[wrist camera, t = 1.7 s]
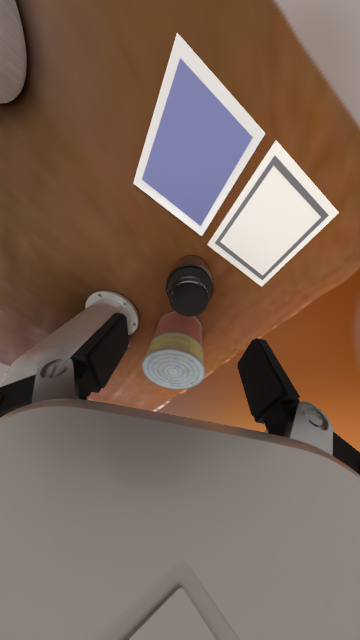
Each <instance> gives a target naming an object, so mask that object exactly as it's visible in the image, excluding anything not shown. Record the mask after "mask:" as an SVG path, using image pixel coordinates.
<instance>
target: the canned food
mask: <svg viewBox="0 0 360 640" xmlns="http://www.w3.org/2000/svg"><path fill="white" fill-rule="evenodd" d="M142 369H143V372H144V374H145V375H146V377H147V378H148V379H149V380H151V381H152V382H154V383H155V384H157V385H160V386H162V387H165V388H170V389H187V388H191V387H193V386H196V385H197V384H199V383H200V382H201V381H202V380H203V378H204V376H205V368H204V357H203V340H202V326H201V323H200V322H199V320H198V319H197V318H196V317H195V316H190V317H188V316H182V315H180V314H178V313H177V312H175V311H174V312H170V313H167V314H166V315H164V316H163V317H162V318H161V319H160V321H159V323H158V326H157V329H156V331H155V334H154V336H153V339H152V342H151V344H150V347H149V349H148V352H147V354H146V357H145V358H144V360H143V363H142Z"/></svg>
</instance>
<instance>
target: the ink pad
mask: <svg viewBox="0 0 360 640" xmlns="http://www.w3.org/2000/svg"><path fill="white" fill-rule="evenodd" d="M264 135H265V132H264V131H263V130H262V129H261V128H260V127H259V125H258V124H257V123H256V122H255V121H254V120H253V119H252V117H251V116H250V115H249V114H248V113H247V112H246V111H245V109H244V108H243V107H242V106H241V105H240V104H239V103H238V101H237V100H236V99H235V98H234V97H233V96H232V95H231V93H230V92H229V91H228V90H227V89H226V88H225V87H224V85H223V84H222V83H221V82H220V81H219V80H218V79H217V77H216V76H215V75H214V74H213V73H212V72H211V71H210V69H209V68H208V67H207V66H206V65H205V64H204V63H203V61H202V60H201V59H200V58H199V57H198V56H197V55H196V53H195V52H194V51H193V50H192V49H191V48H190V47H189V46H188V44H187V43H186V42H185V41H184V40H183V39H182V38H181V36H180V35H179V34H178V33H177V35H176V38H175V42H174V45H173V49H172V52H171V55H170V59H169V62H168V66H167V69H166V73H165V76H164V79H163V83H162V86H161V90H160V93H159V97H158V100H157V103H156V107H155V110H154V114H153V117H152V121H151V124H150V127H149V131H148V134H147V138H146V141H145V145H144V148H143V151H142V155H141V158H140V162H139V165H138V169H137V172H136V175H135V179H134V182H133V184H135V185H136V186H137V187H139V188H140V189H141V190H142V191H144V192H145V193H146V194H148V195H149V196H150V197H151V198H153V199H154V200H155V201H157V202H158V203H159V204H160V205H162V206H163V207H164V208H166V209H167V210H168V211H170V212H171V213H172V214H173V215H175V216H176V217H177V218H179V219H180V220H181V221H182V222H184V223H185V224H186V225H188V226H189V227H190V228H191V229H193V230H194V231H195V232H197V233H198V234H199V235H200V236H203V234H204V232H205V231H206V229H207V227H208V226H209V224H210V223H211V221H212V219H213V218H214V216H215V214H216V213H217V211H218V210H219V208H220V206H221V205H222V203H223V201H224V200H225V198H226V197H227V195H228V193H229V192H230V190H231V188H232V187H233V185H234V184H235V182H236V180H237V179H238V177H239V175H240V174H241V172H242V171H243V169H244V167H245V166H246V164H247V162H248V161H249V159H250V158H251V156H252V154H253V153H254V151H255V149H256V148H257V146H258V145H259V143H260V141H261V140H262V138H263V136H264Z"/></svg>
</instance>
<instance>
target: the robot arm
mask: <svg viewBox="0 0 360 640" xmlns="http://www.w3.org/2000/svg"><path fill="white" fill-rule="evenodd" d="M138 324H139V315H138V312H137V310H136V308H135V307H134V305H133V304H132V303H131V302H130V301H129V300H128V299H127V298H126V297H124V296H122V295H121V294H119V293H116V292H113V291H108V290H102V291H98V292H95V293H93V294H92V295H90V296H89V297H88V299H87V301H86V304H85V310H83V311H82V312H80V313H79V314H78V315H76V316H75V317H73V318H72V319H71V320H69V321H68V322H67V323H65V324H64V325H62V326H61V327H60V328H58V329H57V330H56V331H54V332H53V333H51V334H50V335H49V336H47V337H46V338H44V339H43V340H42V341H40V342H39V343H38V344H36V345H35V346H33V347H32V348H30V349H29V350H28V351H26V352H25V353H24V354H22V355H21V356H20V357H19V358H17V359H16V360H15V362H14V363H13V364H12V365H11V366H10V368H9V369H8V371H7V373H6V375H5V377H4V381H3V383H2V386H1V387H0V640H360V452H358V451H357V450H356V449H355V448H353V447H352V446H351V445H349V444H348V443H347V442H346V441H344V440H343V439H342V438H341V437H339V436H338V435H337V434H336V433H334V432H333V428H332V424H331V422H330V420H329V419H328V418H327V416H326V415H325V414H324V413H323V412H322V411H321V410H320V409H318V408H317V407H316V406H315V405H313V404H311V403H308V402H306V401H301V402H300V401H299V399H298V398H299V397H300V396H299V395H298V393H297V391H296V390H295V388H294V386H293V385H292V383H291V381H290V380H289V378H288V376H287V375H286V373H285V372H284V370H283V368H282V366H281V365H280V363H279V361H278V360H277V358H276V357H275V355H274V353H273V352H272V350H271V348H270V347H269V345H268V344H267V342H266V341H265V340H263V339H257V338H256V339H255V340H252V341H251V343H250V345H249V346H248V348H247V350H246V351H245V353H244V354H243V356H242V358H241V359H240V361H239V362H238V370H239V373H240V377H241V380H242V384H243V387H244V390H245V394H246V397H247V401H248V404H249V407H250V411H251V414H252V416H254V418H255V421H256V422H257V423H263V424H264V423H265V426H266V430H265V433H264V432H259V431H254V430H248V429H244V428H239V427H233V426H228V425H223V424H218V423H213V422H207V421H201V420H196V419H191V418H186V417H180V416H175V415H170V414H164V413H159V412H153V411H148V410H142V409H137V408H131V407H126V406H120V405H115V404H108V403H102V402H96V401H90V400H89V399H88V396H89V395H90V394H91V392H96V393H99V391H100V390H101V388H104V387H105V386H106V384H107V382H108V380H109V379H110V377H111V375H112V374H113V372H114V370H115V368H116V367H117V365H118V363H119V362H120V360H121V358H122V356H123V355H124V353H125V351H126V350H127V348H128V347H129V346H130V344H129V337H128V335H130V334H132V333H133V332H134V331H135V330H136V329H137V327H138Z"/></svg>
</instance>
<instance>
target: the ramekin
mask: <svg viewBox="0 0 360 640" xmlns="http://www.w3.org/2000/svg"><path fill="white" fill-rule="evenodd" d="M26 69H27V55H26V45H25V39H24V33H23V28H22V23H21V19H20V15H19V12H18V8H17V5H16V2H15V0H0V104H2V103H8V102H10V101H12V100H13V99H15V98H16V97H17V96H18V95H19V93H20V92H21V90H22V88H23V86H24V82H25V78H26Z"/></svg>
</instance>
